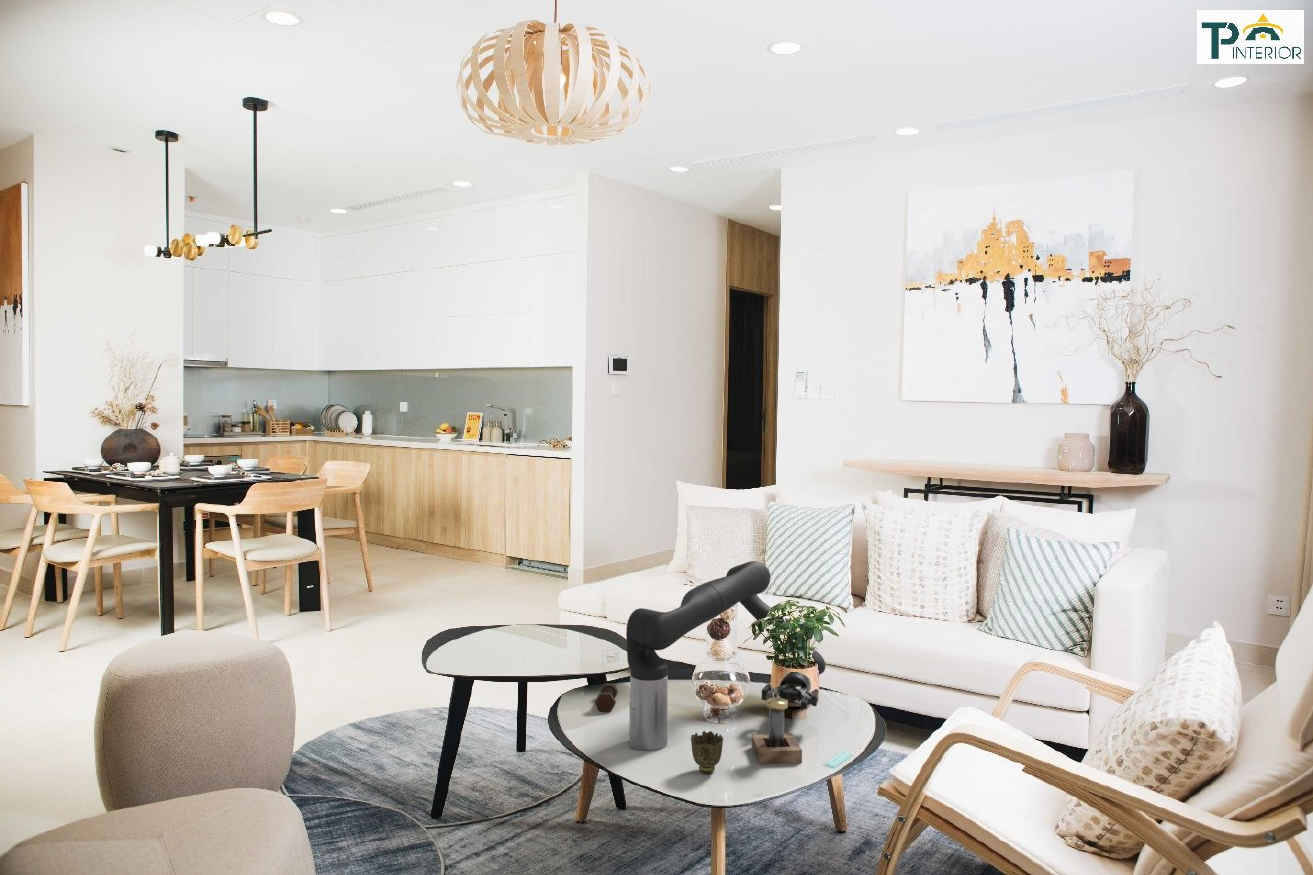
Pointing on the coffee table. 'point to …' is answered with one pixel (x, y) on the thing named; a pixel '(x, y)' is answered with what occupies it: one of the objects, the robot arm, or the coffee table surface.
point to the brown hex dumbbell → (606, 698)
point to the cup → (707, 750)
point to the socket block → (776, 750)
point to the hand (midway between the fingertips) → (785, 704)
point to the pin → (776, 721)
